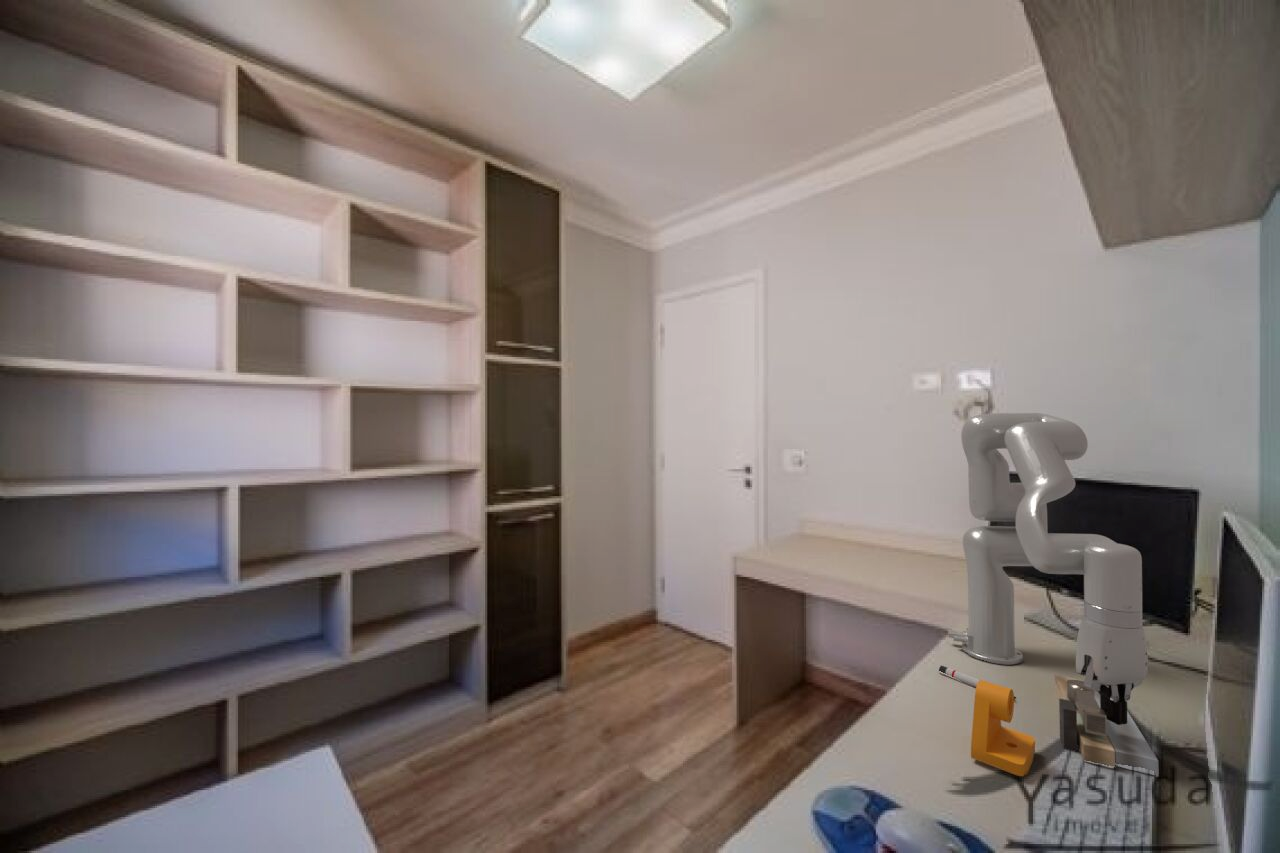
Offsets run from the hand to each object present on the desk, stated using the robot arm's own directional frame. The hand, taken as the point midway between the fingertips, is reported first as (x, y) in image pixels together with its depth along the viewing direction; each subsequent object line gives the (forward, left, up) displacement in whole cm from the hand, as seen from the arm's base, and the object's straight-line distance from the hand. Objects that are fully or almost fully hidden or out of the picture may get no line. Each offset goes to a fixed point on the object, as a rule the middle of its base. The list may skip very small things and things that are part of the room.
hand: (1113, 720), depth 91 cm
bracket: (-17, -11, -6) cm, 21 cm away
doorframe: (-2, +8, -5) cm, 9 cm away
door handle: (-3, +3, -1) cm, 4 cm away
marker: (-20, +15, -6) cm, 25 cm away
